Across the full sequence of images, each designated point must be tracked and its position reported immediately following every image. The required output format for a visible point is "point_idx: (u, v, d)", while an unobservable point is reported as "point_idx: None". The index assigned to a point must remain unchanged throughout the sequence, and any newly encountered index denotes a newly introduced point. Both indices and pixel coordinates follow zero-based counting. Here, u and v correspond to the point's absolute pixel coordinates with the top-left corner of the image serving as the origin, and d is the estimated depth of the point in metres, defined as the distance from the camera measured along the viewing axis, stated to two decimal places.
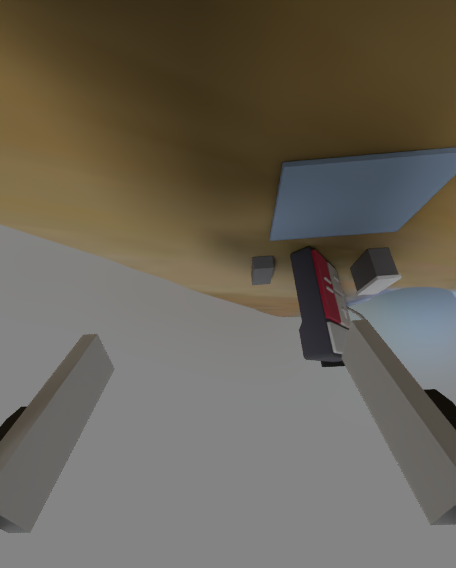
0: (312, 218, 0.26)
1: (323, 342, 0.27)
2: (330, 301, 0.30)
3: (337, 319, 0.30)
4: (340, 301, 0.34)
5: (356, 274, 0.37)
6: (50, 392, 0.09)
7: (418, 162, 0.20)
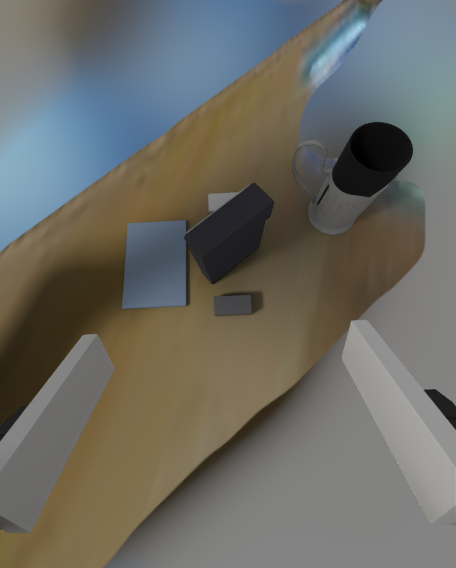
0: (163, 281, 0.40)
1: (189, 246, 0.27)
2: None
3: None
4: None
5: None
6: (50, 392, 0.09)
7: (130, 245, 0.42)
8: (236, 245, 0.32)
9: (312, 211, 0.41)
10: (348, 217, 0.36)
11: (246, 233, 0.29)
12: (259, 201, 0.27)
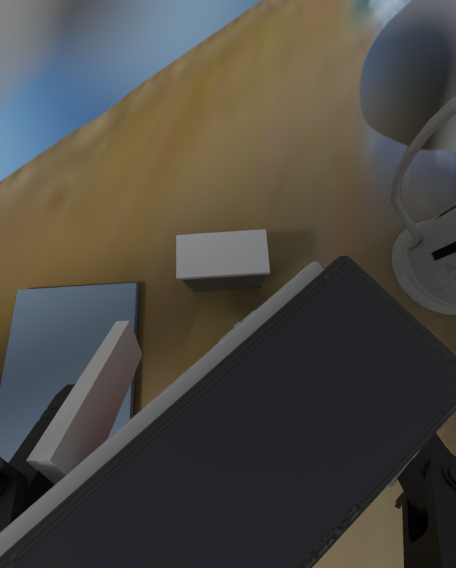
0: None
1: None
2: None
3: None
4: None
5: (246, 283, 0.18)
6: (95, 370, 0.10)
7: (16, 339, 0.20)
8: None
9: (408, 264, 0.19)
10: None
11: None
12: (395, 384, 0.04)
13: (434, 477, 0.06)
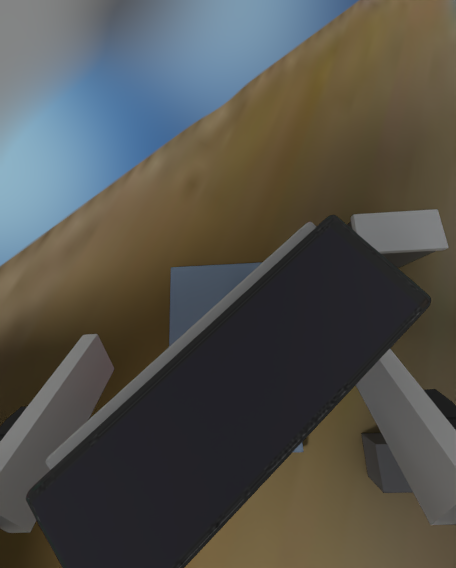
0: None
1: None
2: None
3: None
4: None
5: (399, 261, 0.20)
6: (50, 392, 0.09)
7: (177, 312, 0.21)
8: None
9: None
10: None
11: None
12: (371, 304, 0.06)
13: None
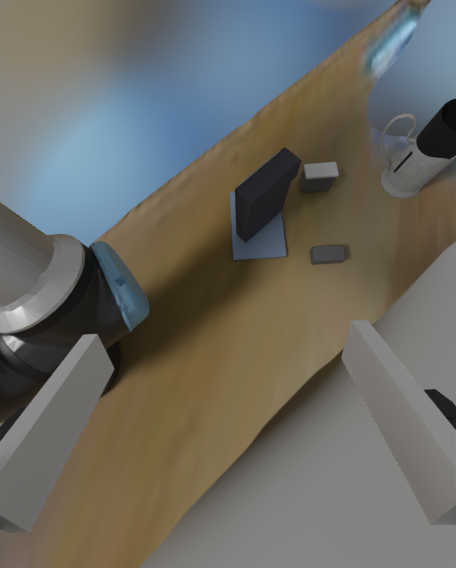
0: (265, 237, 0.48)
1: (237, 198, 0.36)
2: None
3: None
4: None
5: (325, 185, 0.49)
6: (50, 392, 0.09)
7: (233, 209, 0.50)
8: (269, 202, 0.40)
9: (386, 178, 0.49)
10: (424, 180, 0.44)
11: (279, 188, 0.37)
12: (290, 160, 0.35)
13: None
